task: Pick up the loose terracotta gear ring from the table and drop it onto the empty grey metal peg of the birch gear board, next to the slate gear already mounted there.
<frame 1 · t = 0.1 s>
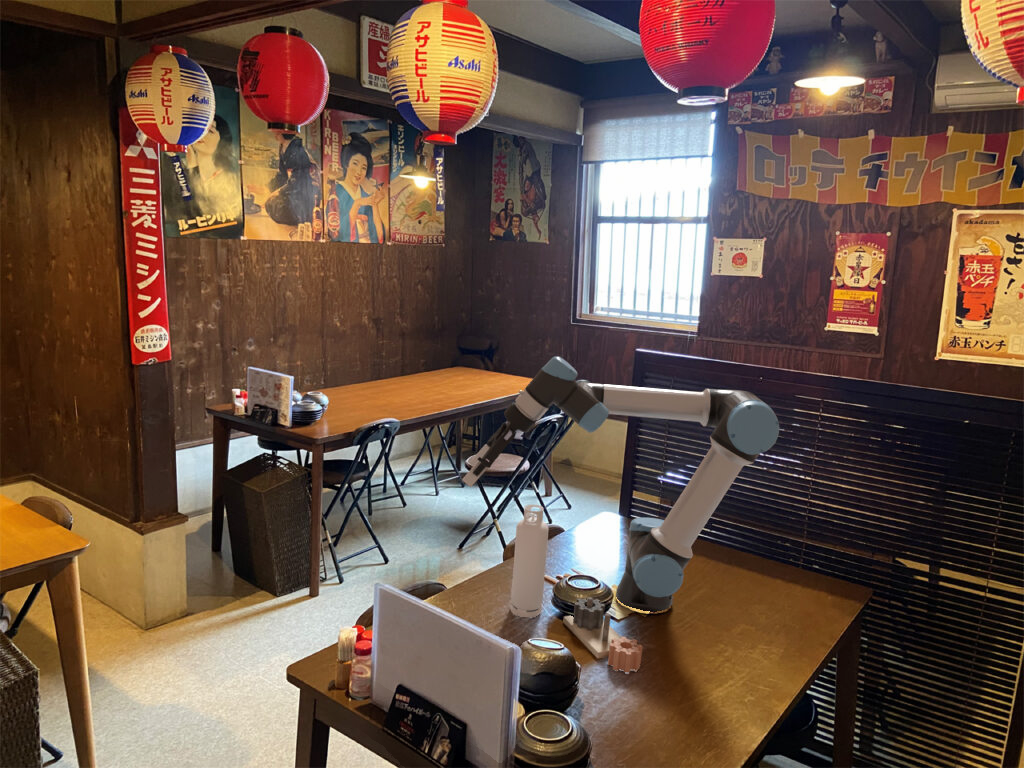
hand: (470, 474, 182), 36 cm above the table, tool tilted 35°, fingers open, 13 cm apart
gear board: (595, 636, 180), on the table
bottle: (525, 610, 190), on the table
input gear: (624, 665, 169), on the table
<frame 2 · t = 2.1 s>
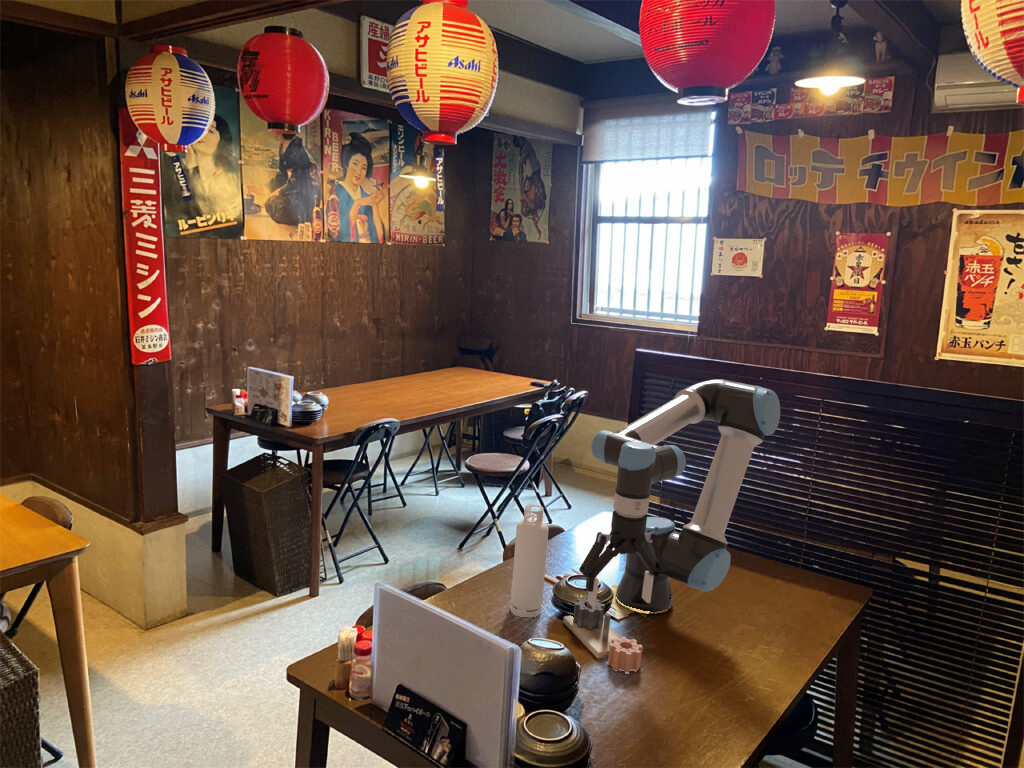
hand: (618, 602, 165), 16 cm above the table, tool pointing down, fingers open, 13 cm apart
nothing on the table moved.
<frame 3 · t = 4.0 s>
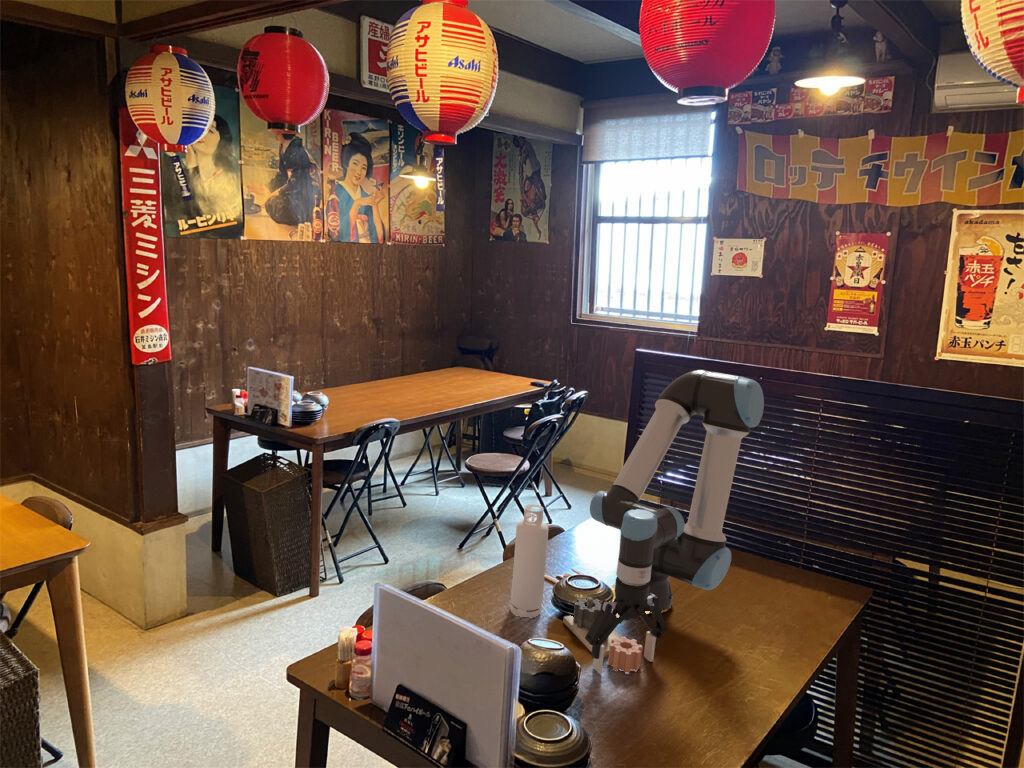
hand: (623, 665, 168), 0 cm above the table, tool pointing down, fingers open, 13 cm apart
nothing on the table moved.
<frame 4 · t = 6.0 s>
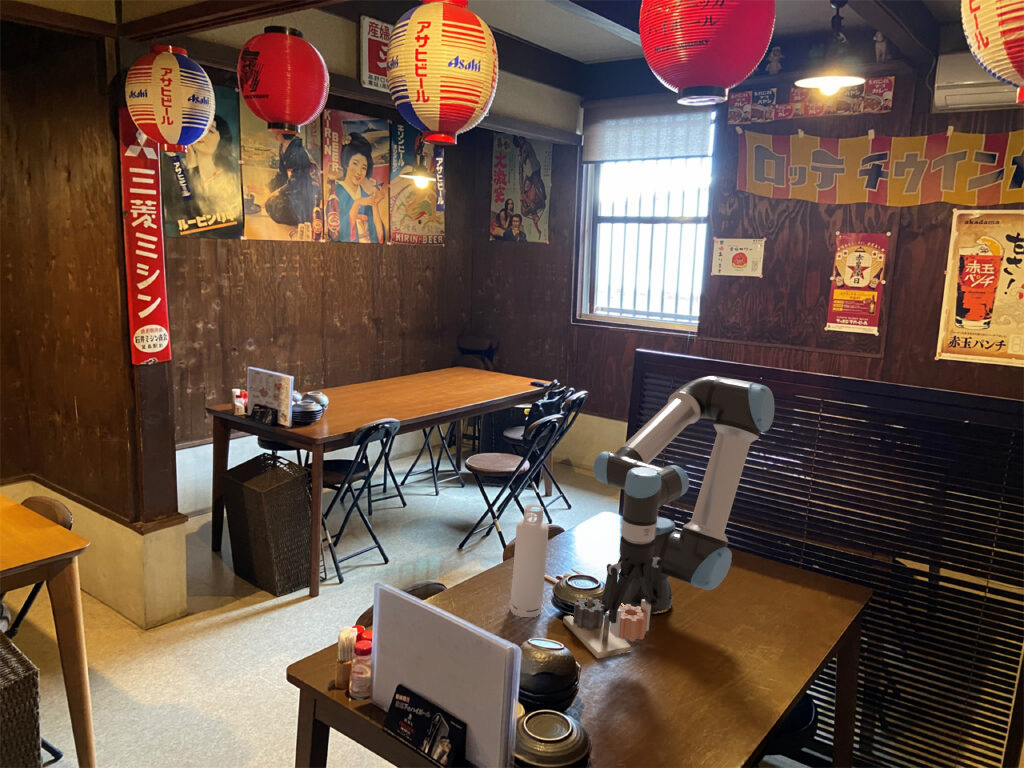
hand: (629, 630, 167), 8 cm above the table, tool pointing down, fingers closed on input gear, 7 cm apart
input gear: (629, 632, 167), point 8 cm above the table, touching gripper
everything else where it was.
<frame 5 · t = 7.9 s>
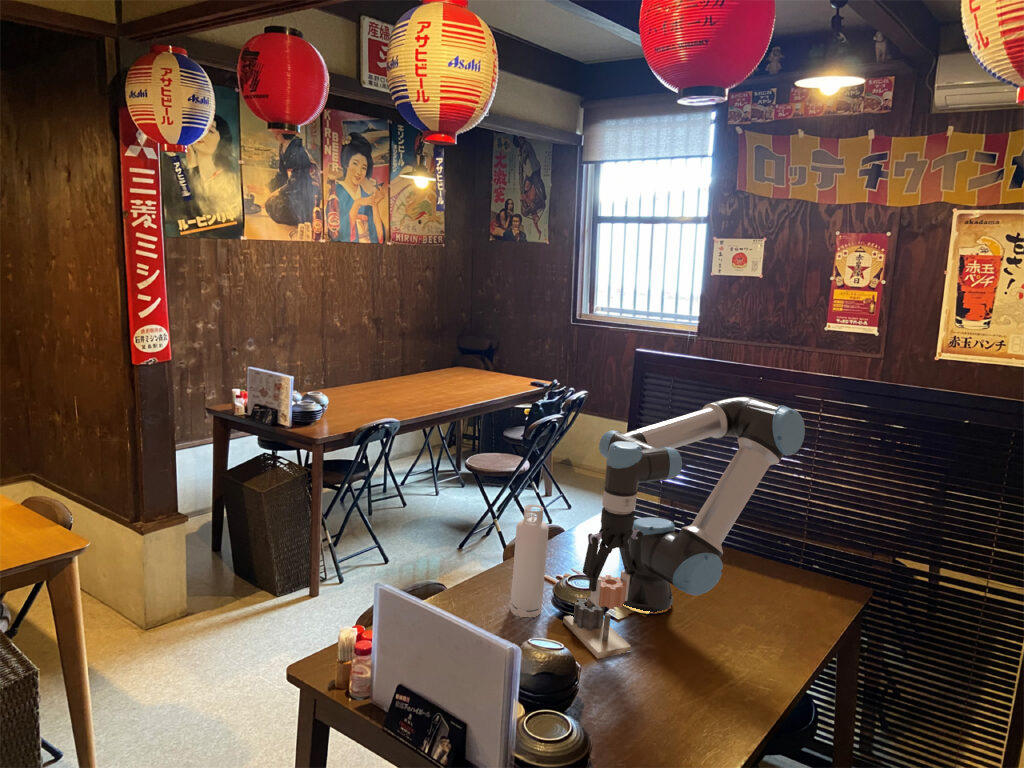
hand: (608, 600, 174), 12 cm above the table, tool pointing down, fingers closed on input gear, 7 cm apart
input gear: (608, 601, 174), point 11 cm above the table, touching gripper
everything else where it was.
when the fingers open (3 cm above the table, at t = 10.2 s): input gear stays where it is, resting on gear board.
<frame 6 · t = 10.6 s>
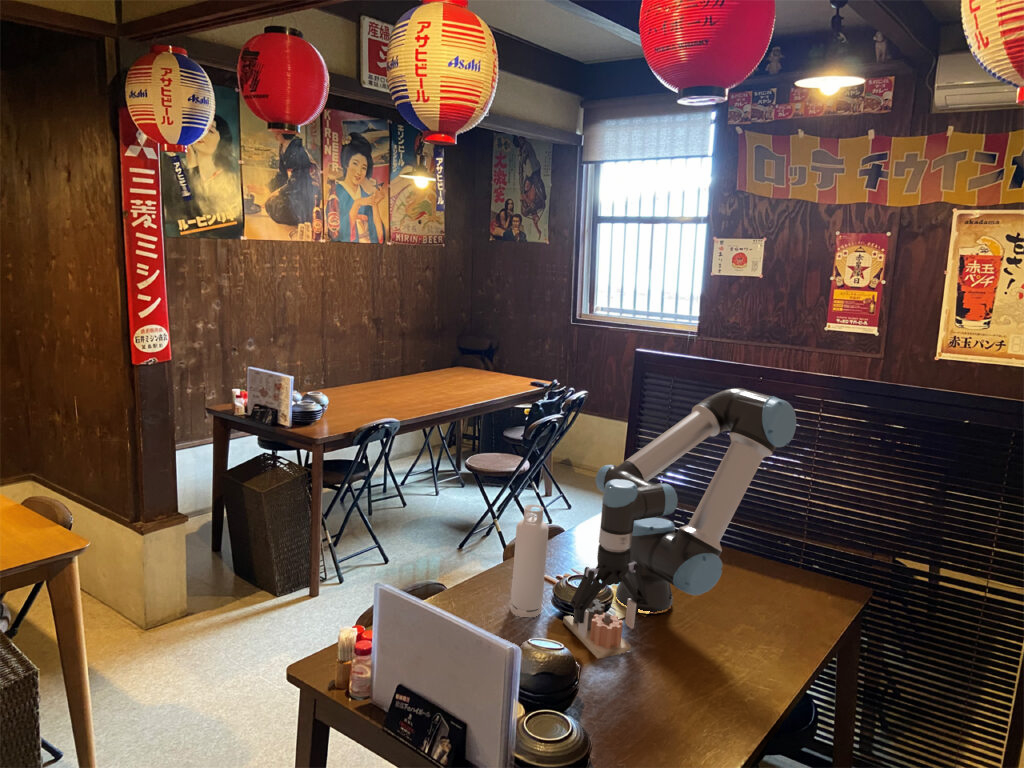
hand: (606, 630, 175), 4 cm above the table, tool pointing down, fingers open, 12 cm apart
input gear: (605, 639, 176), point 1 cm above the table, touching gear board
everything else where it was.
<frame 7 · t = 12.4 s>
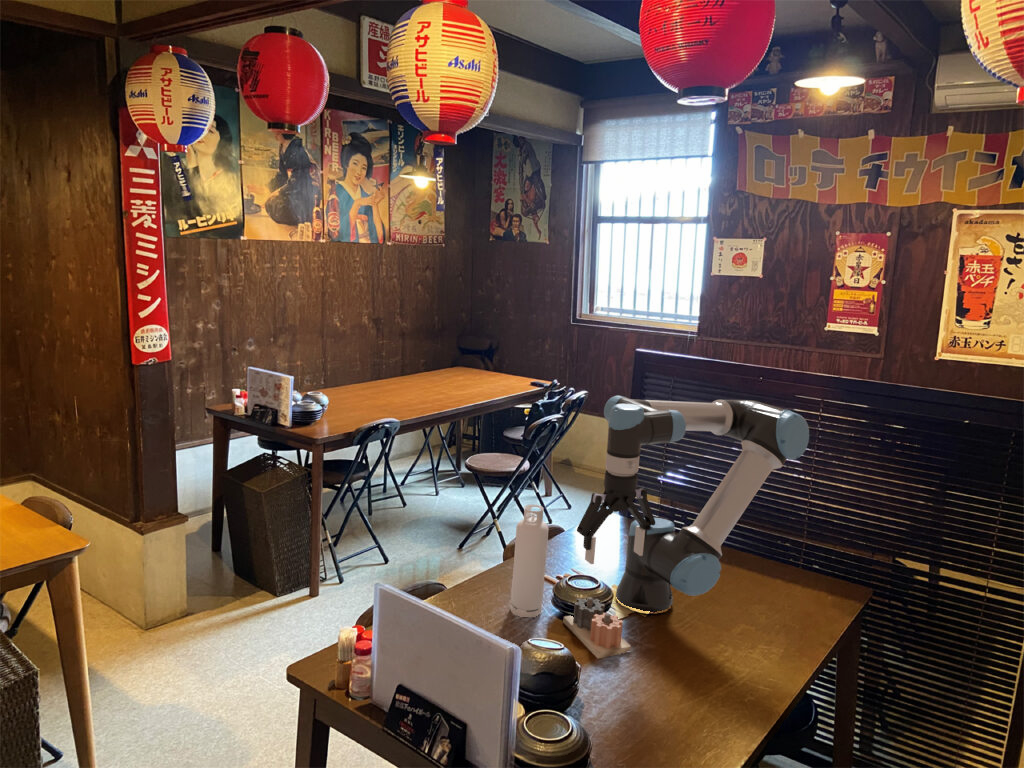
hand: (614, 557, 173), 22 cm above the table, tool pointing down, fingers open, 13 cm apart
nothing on the table moved.
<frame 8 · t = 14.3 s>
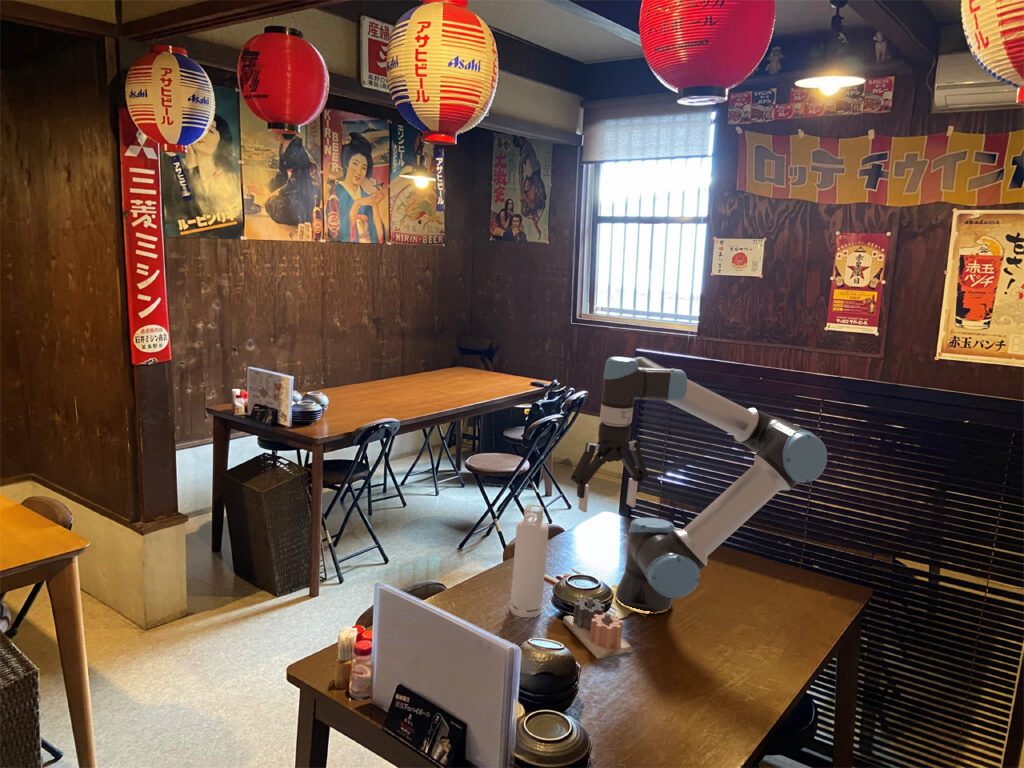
hand: (606, 507, 178), 32 cm above the table, tool pointing down, fingers open, 13 cm apart
nothing on the table moved.
at the end: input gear 0.1 cm from the target spot, point 1.5 cm above the table; the gripper is holding nothing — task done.
